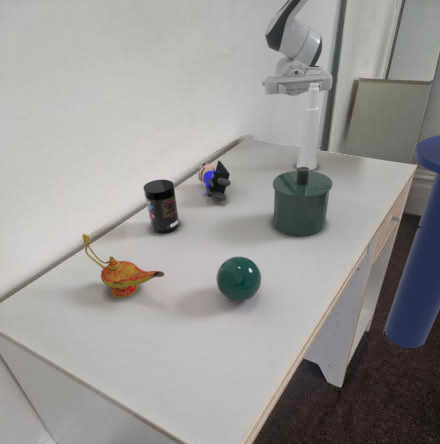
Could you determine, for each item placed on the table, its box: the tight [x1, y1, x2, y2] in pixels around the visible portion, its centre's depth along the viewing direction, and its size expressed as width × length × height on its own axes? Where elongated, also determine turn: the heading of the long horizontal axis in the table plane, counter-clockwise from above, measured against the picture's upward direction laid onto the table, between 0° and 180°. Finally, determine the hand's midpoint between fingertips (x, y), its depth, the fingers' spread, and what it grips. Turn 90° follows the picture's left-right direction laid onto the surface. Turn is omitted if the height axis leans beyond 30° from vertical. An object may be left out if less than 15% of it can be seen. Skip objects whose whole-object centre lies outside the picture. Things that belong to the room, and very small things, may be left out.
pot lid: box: [272, 167, 333, 198], centre depth 79 cm, size 13×13×4 cm
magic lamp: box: [81, 233, 165, 299], centre depth 68 cm, size 7×18×11 cm, turn 63°
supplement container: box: [142, 179, 180, 234], centre depth 85 cm, size 7×7×10 cm
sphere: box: [215, 256, 262, 302], centre depth 66 cm, size 8×8×8 cm
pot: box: [273, 189, 330, 237], centre depth 83 cm, size 12×12×10 cm
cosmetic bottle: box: [295, 83, 320, 171], centre depth 103 cm, size 6×6×22 cm
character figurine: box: [196, 160, 232, 202], centre depth 98 cm, size 8×7×15 cm
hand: (302, 90), depth 107 cm, fingers open, 8 cm apart
